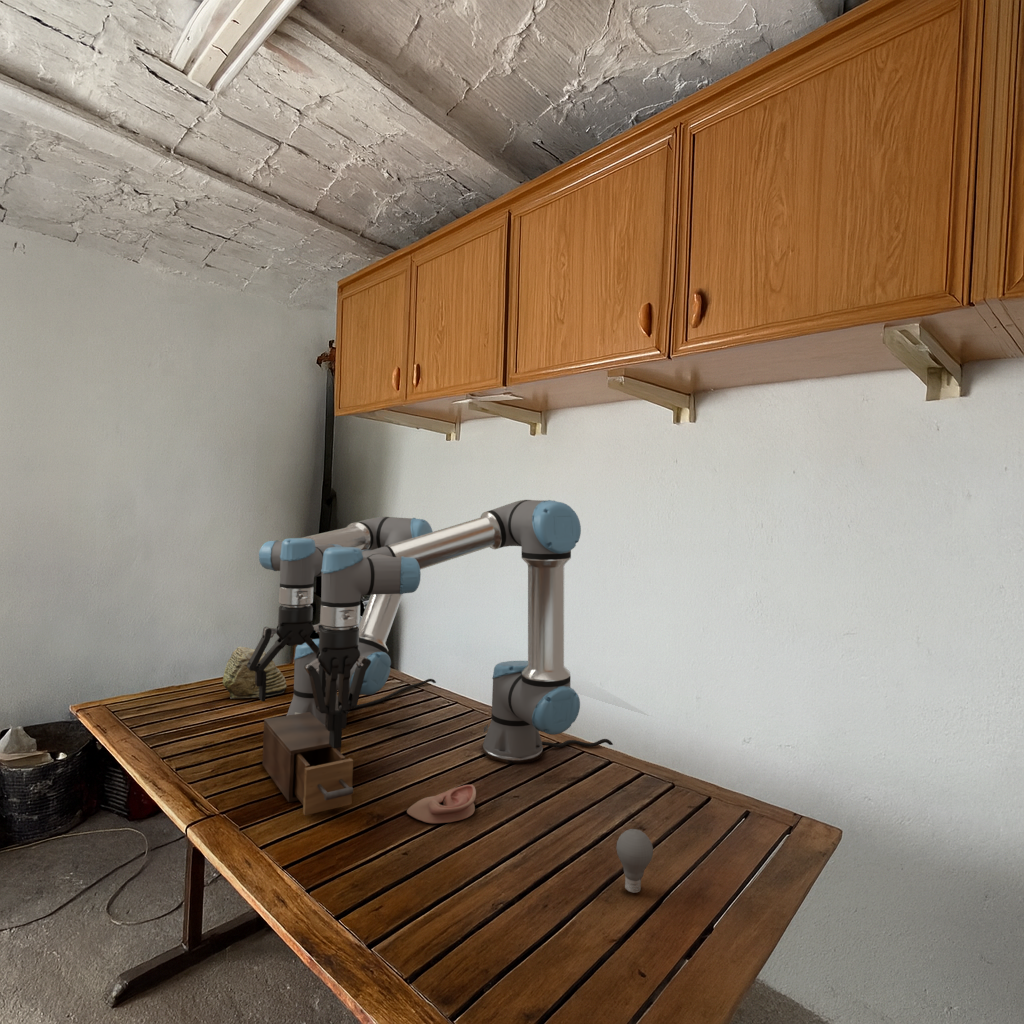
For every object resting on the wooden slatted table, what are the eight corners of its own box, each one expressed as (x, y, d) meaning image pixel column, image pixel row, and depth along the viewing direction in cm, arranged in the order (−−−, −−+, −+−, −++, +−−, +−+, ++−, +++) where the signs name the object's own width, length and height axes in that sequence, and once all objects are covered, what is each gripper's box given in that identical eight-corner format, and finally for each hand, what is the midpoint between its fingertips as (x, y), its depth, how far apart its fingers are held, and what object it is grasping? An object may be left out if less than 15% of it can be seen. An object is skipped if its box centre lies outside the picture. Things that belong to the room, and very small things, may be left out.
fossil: (218, 695, 195) (220, 647, 195) (278, 685, 208) (279, 640, 207) (228, 703, 189) (230, 653, 188) (289, 692, 201) (290, 645, 201)
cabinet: (339, 790, 137) (341, 741, 137) (288, 802, 131) (290, 750, 130) (308, 756, 154) (309, 711, 154) (262, 765, 148) (263, 719, 148)
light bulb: (610, 879, 108) (613, 822, 108) (644, 879, 109) (647, 822, 109) (619, 902, 102) (622, 840, 102) (655, 901, 103) (658, 840, 103)
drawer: (362, 816, 125) (364, 770, 125) (314, 829, 119) (316, 781, 119) (319, 767, 146) (320, 728, 146) (276, 776, 140) (278, 736, 140)
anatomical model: (401, 799, 125) (421, 775, 137) (400, 819, 126) (420, 793, 137) (466, 808, 123) (481, 783, 134) (465, 829, 123) (480, 802, 134)
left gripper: (242, 611, 137) (239, 708, 137) (353, 604, 151) (349, 692, 152) (235, 605, 143) (231, 698, 143) (342, 599, 158) (338, 684, 158)
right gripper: (312, 632, 117) (307, 759, 118) (378, 627, 125) (373, 745, 125) (300, 625, 123) (295, 745, 124) (363, 620, 131) (359, 733, 131)
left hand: (292, 695), depth 148 cm, fingers open, 13 cm apart
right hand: (335, 745), depth 125 cm, fingers closed
